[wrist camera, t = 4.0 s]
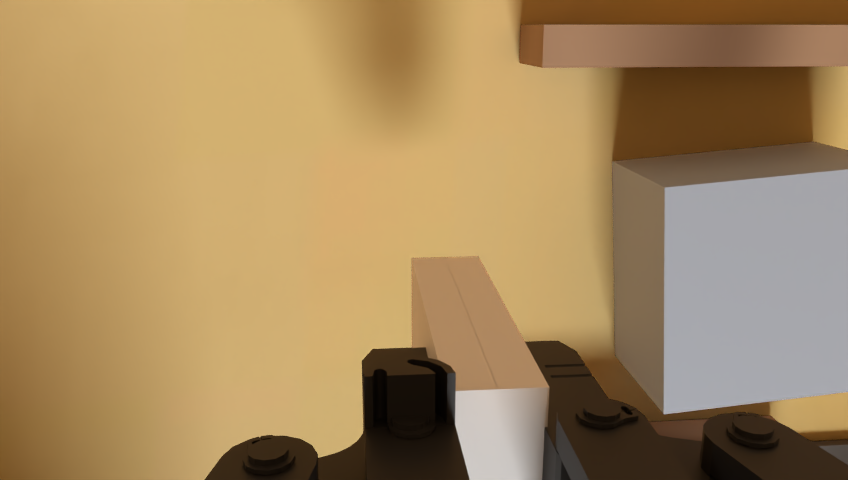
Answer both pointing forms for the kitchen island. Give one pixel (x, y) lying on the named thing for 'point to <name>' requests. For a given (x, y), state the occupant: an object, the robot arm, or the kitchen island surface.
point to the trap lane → (688, 50)
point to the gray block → (732, 274)
